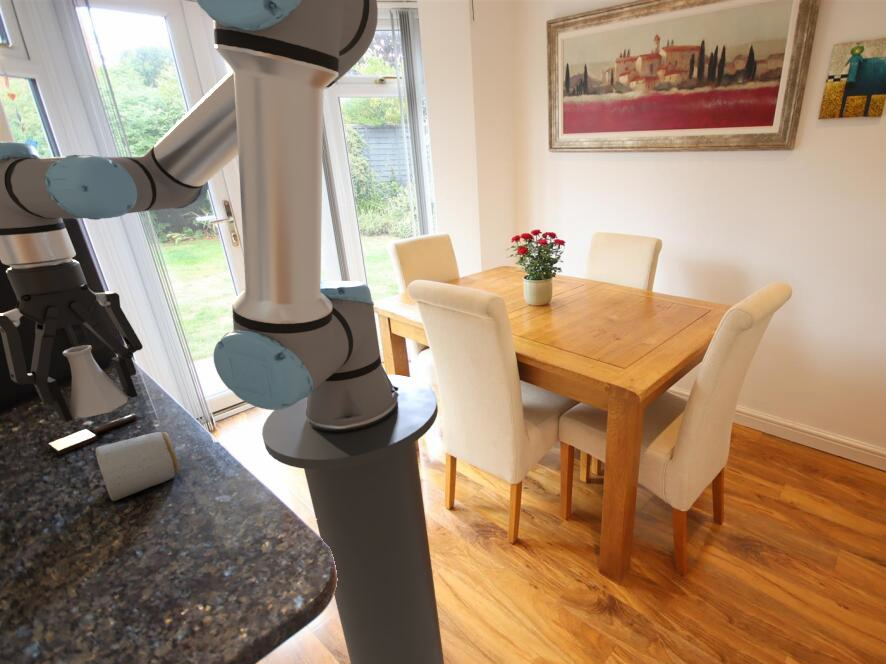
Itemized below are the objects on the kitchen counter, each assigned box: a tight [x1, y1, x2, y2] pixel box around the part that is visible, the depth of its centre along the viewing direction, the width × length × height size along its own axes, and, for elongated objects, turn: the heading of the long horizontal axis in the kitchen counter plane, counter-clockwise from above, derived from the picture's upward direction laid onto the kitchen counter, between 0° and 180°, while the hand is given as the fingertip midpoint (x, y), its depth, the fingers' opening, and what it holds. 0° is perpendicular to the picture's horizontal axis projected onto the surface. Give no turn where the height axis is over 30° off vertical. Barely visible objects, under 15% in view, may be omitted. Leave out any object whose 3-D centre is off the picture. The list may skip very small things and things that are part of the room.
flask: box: [62, 344, 130, 418], centre depth 71 cm, size 7×7×10 cm
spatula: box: [48, 413, 138, 456], centre depth 79 cm, size 12×4×1 cm, turn 149°
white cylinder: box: [95, 431, 181, 502], centre depth 66 cm, size 11×8×8 cm
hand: (100, 406), depth 72 cm, fingers closed on flask, 8 cm apart
